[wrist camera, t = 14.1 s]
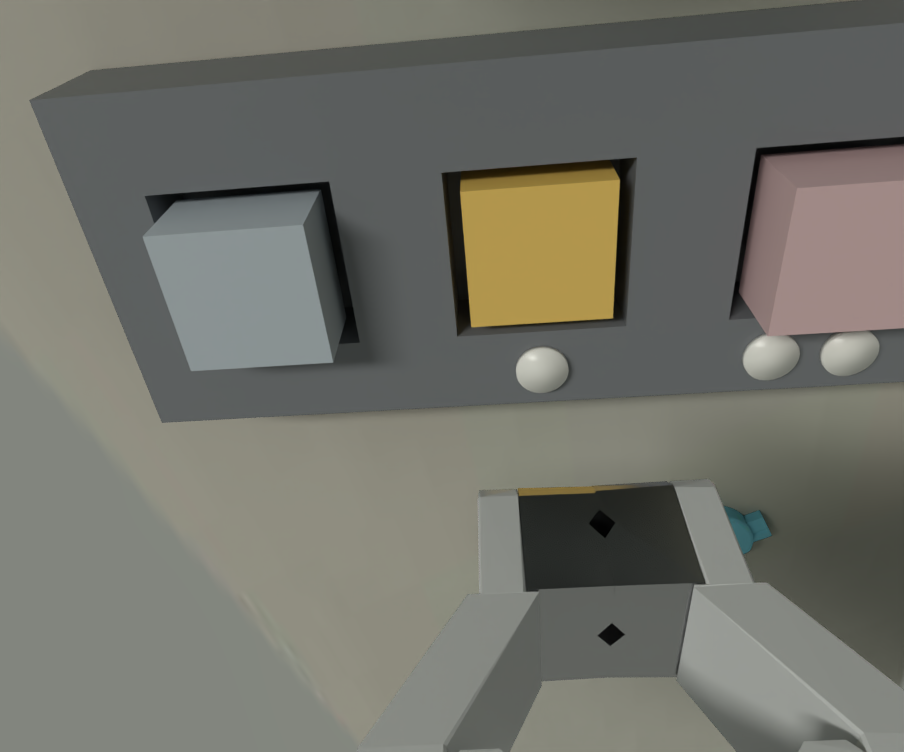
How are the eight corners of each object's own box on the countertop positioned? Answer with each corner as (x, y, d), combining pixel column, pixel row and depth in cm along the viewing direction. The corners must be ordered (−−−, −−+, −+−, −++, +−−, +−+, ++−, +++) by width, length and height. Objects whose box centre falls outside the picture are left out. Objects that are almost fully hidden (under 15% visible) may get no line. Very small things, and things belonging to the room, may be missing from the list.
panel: (195, 364, 23) (159, 427, 20) (90, 70, 18) (24, 102, 15) (897, 322, 21) (956, 383, 19) (1003, -13, 16) (1105, 7, 14)
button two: (738, 292, 18) (767, 336, 17) (760, 154, 16) (796, 188, 15) (881, 282, 18) (926, 326, 16) (922, 142, 16) (979, 174, 14)
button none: (217, 325, 19) (191, 371, 18) (176, 200, 17) (141, 236, 15) (346, 317, 19) (333, 362, 17) (320, 189, 17) (302, 224, 15)
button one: (471, 286, 20) (471, 327, 18) (461, 160, 18) (460, 191, 16) (599, 278, 20) (612, 318, 18) (604, 149, 18) (620, 179, 16)
